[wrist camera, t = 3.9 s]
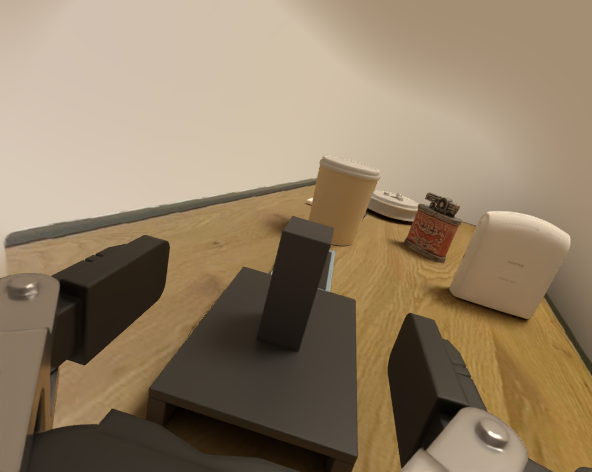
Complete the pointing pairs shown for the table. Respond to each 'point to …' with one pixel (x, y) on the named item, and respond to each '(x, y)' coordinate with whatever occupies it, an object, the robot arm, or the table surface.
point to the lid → (393, 205)
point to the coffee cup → (342, 196)
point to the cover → (274, 355)
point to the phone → (326, 272)
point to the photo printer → (510, 262)
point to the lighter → (434, 228)
